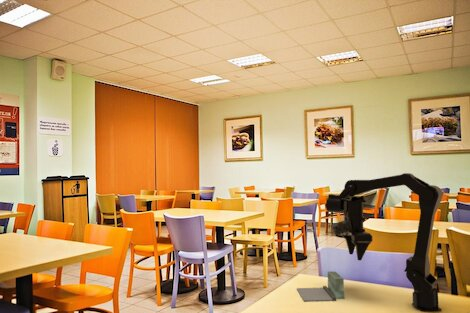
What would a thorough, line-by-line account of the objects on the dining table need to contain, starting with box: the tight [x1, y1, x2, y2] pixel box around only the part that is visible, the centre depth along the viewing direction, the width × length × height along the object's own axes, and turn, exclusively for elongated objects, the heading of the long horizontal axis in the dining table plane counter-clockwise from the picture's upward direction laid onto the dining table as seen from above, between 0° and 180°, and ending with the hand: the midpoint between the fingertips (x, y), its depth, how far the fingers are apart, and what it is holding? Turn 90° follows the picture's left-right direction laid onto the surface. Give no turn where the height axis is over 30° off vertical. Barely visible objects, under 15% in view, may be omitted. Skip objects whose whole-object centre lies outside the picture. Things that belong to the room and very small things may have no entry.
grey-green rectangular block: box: [327, 270, 345, 300], centre depth 134 cm, size 3×10×7 cm, turn 0°
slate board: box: [296, 285, 337, 302], centre depth 133 cm, size 11×14×1 cm
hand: (355, 257), depth 134 cm, fingers open, 9 cm apart
